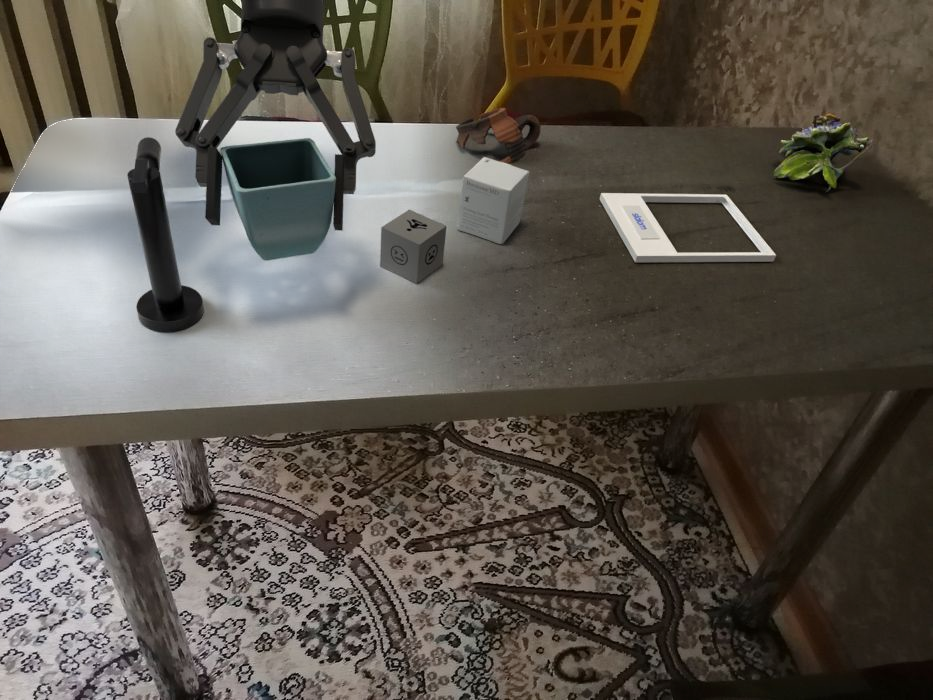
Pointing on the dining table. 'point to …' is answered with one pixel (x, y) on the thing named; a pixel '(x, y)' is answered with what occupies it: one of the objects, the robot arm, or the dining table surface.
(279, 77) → the robot arm
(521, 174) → the product box
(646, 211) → the photo frame
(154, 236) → the tap
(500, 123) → the pottery mug
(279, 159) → the flower pot
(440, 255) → the dice cube
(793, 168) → the passion flower
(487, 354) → the dining table surface
